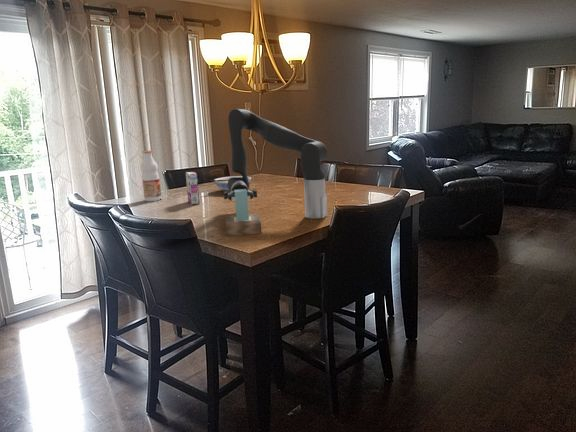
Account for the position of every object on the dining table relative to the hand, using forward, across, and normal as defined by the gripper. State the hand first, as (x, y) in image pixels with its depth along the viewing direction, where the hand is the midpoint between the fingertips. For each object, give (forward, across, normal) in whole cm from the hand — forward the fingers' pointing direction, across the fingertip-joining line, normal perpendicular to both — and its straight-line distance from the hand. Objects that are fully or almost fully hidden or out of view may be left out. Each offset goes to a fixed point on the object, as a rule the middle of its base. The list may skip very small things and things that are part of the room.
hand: (241, 197), depth 186 cm
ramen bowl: (-86, -2, +13) cm, 87 cm away
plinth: (+3, 0, +13) cm, 13 cm away
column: (+3, 0, +8) cm, 9 cm away
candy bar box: (-59, -24, +13) cm, 65 cm away
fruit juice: (-75, -48, +13) cm, 90 cm away
